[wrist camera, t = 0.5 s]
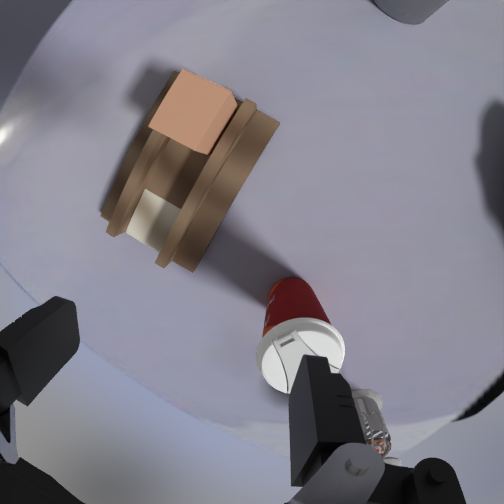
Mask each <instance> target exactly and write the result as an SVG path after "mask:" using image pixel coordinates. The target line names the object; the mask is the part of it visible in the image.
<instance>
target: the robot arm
mask: <svg viewBox="0 0 504 504" xmlns="http://www.w3.org/2000/svg"><path fill="white" fill-rule="evenodd" d="M373 1H374V2H375V3H376V5H377V6H378V7H379V8H380V9H381V10H382V11H383V12H385V13H386V14H387V15H389V16H390V17H392V18H394V19H396V20H398V21H400V22H403V23H407V24H420V23H422V22H424V21H425V20H426V19H427V18H428V17H430V16H431V15H432V14H433V13H434V12H436V11H437V10H438V9H439V8H440V7H442V6H443V5H444V4H445V3H446V2H448V1H449V0H373ZM79 343H80V336H79V329H78V321H77V312H76V306H75V303H74V302H73V301H70V300H67V299H64V298H61V297H58V296H54V297H52V298H51V299H50V300H48V301H47V302H45V303H44V304H42V305H41V306H38V307H36V308H33V309H30V310H29V311H28V312H26V313H25V314H23V315H22V317H20V318H18V319H16V320H15V322H12V323H11V324H10V325H8V326H7V327H6V328H4V329H3V330H2V331H0V504H85V503H83V502H81V501H80V500H78V499H77V498H76V497H75V496H74V495H72V494H71V493H70V492H69V491H67V490H66V489H65V488H64V487H63V486H62V485H60V484H59V483H58V482H57V481H56V480H55V479H54V478H52V477H51V476H50V475H48V474H46V473H45V472H43V471H41V470H40V469H38V468H36V467H34V466H33V465H31V464H30V463H28V462H27V461H25V460H24V459H22V458H21V457H20V458H19V457H18V454H17V449H16V432H15V407H14V405H13V402H14V401H15V400H18V401H20V402H21V403H23V404H25V405H26V406H28V405H29V404H30V403H31V402H32V401H33V400H34V399H35V397H36V396H37V395H38V394H39V393H40V392H41V391H42V389H43V388H44V387H45V386H46V385H47V384H48V383H49V382H50V380H51V379H52V378H53V377H54V376H55V375H56V374H57V373H58V372H59V371H60V369H61V368H62V367H63V366H64V365H65V364H66V363H67V362H68V361H69V360H70V358H72V356H73V355H74V354H75V353H76V352H77V350H78V347H79ZM289 428H290V460H291V486H297V487H303V488H302V489H301V490H300V491H299V492H298V493H297V494H296V495H295V496H294V497H293V498H292V499H291V500H290V501H289V502H287V503H284V504H466V501H465V498H464V495H463V492H462V490H461V487H460V484H459V481H458V479H457V476H456V473H455V471H454V469H453V468H452V467H451V466H450V464H448V463H447V462H446V461H443V460H442V459H439V458H427V459H424V460H422V461H420V462H419V463H418V464H417V465H416V466H415V467H414V468H408V467H402V466H396V465H391V464H387V463H385V462H384V460H383V458H382V456H381V455H380V454H379V453H378V452H377V451H376V450H375V449H374V448H372V447H370V446H368V445H366V441H365V438H364V434H363V430H362V427H361V423H360V420H359V416H358V413H357V409H356V408H355V402H354V399H353V398H352V392H351V389H350V386H349V384H348V382H347V381H346V380H345V379H344V378H343V376H342V375H341V374H340V373H331V370H330V366H329V362H328V358H327V357H323V356H315V355H307V354H304V355H303V356H302V358H301V361H300V364H299V368H298V371H297V374H296V377H295V380H294V383H293V385H292V388H291V392H290V397H289Z"/></svg>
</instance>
